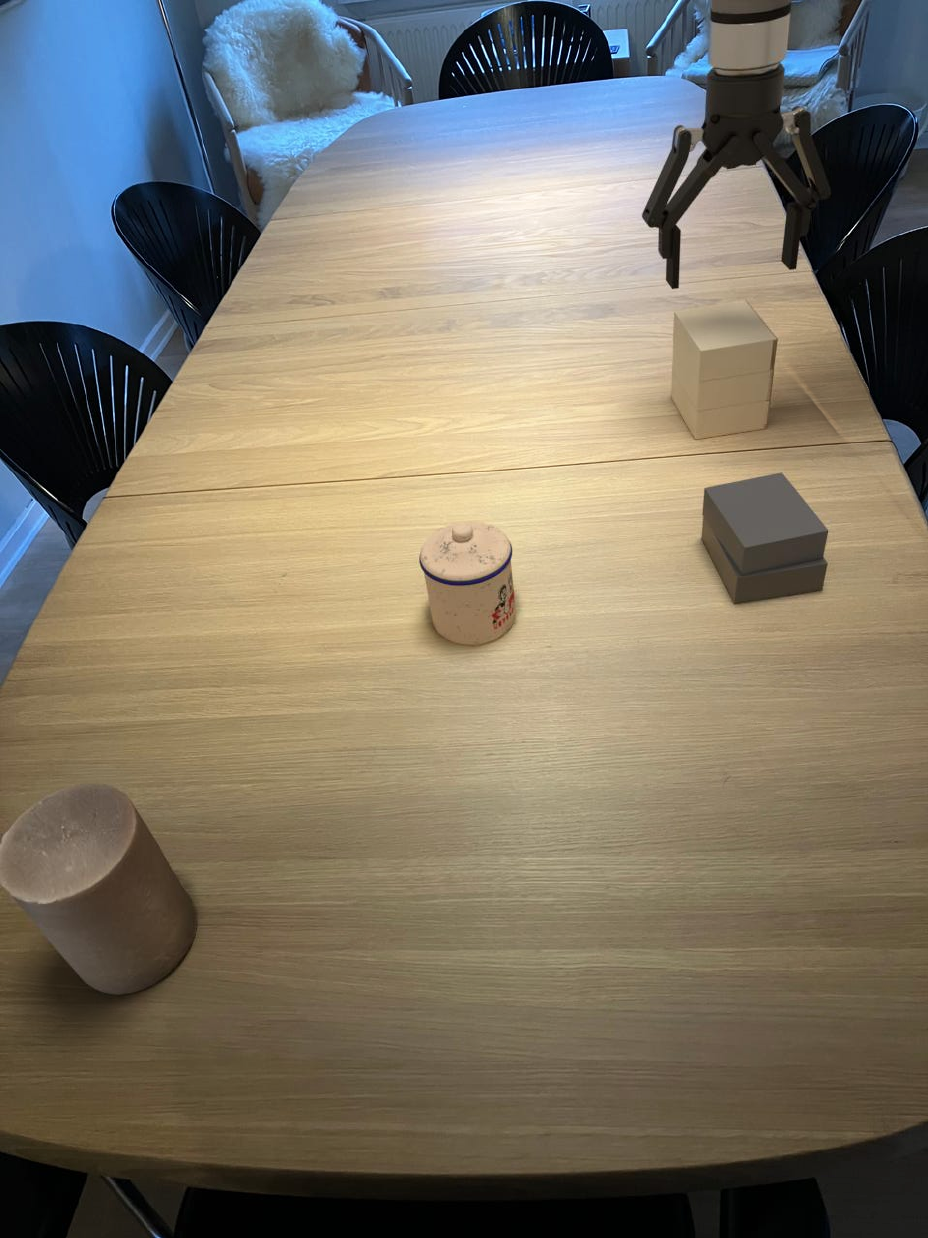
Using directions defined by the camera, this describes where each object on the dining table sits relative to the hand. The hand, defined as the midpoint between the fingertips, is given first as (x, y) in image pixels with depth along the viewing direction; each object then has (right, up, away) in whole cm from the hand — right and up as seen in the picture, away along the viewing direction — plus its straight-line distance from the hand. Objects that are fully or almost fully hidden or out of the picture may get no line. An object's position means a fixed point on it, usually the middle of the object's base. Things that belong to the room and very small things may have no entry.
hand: (730, 274), depth 106 cm
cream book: (+1, -7, +7) cm, 10 cm away
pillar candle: (-56, -65, -34) cm, 92 cm away
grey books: (0, -34, -10) cm, 35 cm away
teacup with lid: (-29, -39, -10) cm, 50 cm away
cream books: (+2, -13, +12) cm, 18 cm away
